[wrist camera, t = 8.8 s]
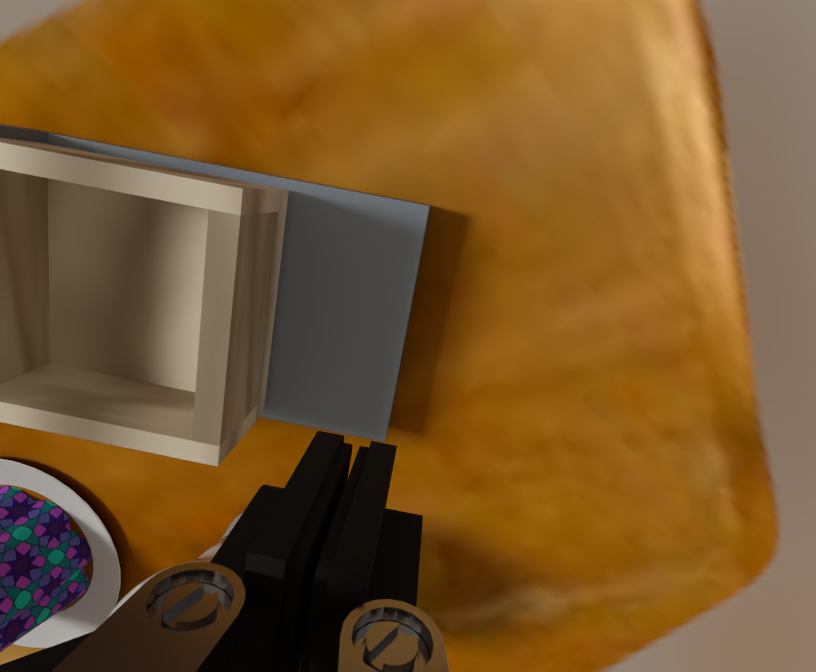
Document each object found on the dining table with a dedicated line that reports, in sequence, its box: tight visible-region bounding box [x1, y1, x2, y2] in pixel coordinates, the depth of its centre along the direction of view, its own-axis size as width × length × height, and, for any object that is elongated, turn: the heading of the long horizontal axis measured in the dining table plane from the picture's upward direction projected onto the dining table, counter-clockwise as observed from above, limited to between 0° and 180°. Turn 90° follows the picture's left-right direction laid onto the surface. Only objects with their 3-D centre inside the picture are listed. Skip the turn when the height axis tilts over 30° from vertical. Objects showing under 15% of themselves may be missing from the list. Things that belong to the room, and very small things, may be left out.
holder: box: [0, 137, 289, 466], centre depth 19 cm, size 10×10×5 cm
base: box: [0, 124, 431, 442], centre depth 19 cm, size 18×10×8 cm, turn 79°
